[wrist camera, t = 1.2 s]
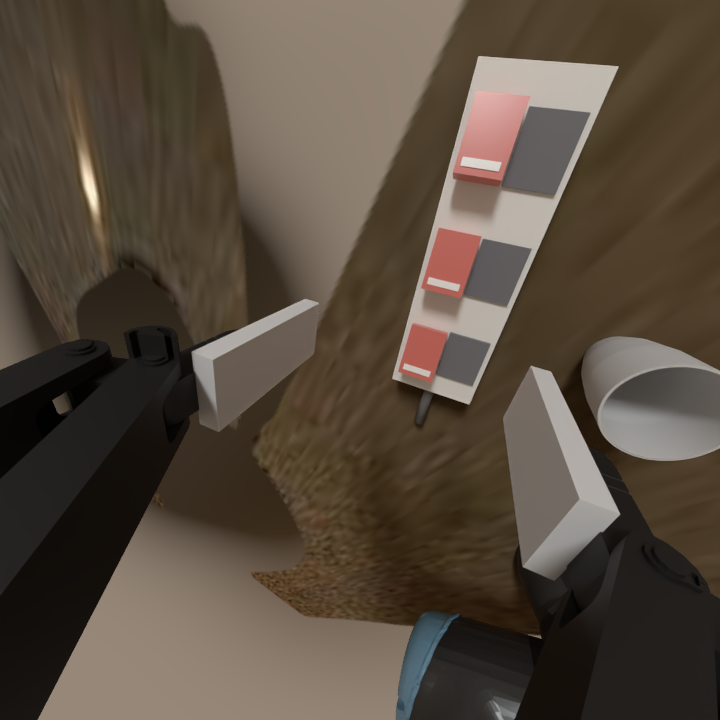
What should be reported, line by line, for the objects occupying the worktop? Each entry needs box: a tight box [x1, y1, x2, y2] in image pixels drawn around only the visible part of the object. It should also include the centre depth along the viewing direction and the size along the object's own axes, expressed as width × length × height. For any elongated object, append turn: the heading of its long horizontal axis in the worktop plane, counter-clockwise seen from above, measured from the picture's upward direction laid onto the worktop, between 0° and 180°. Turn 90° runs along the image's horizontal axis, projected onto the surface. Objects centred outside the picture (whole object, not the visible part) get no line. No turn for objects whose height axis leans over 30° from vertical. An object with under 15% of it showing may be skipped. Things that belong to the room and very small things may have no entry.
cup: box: [581, 337, 720, 461], centre depth 25 cm, size 8×8×10 cm
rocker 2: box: [421, 228, 482, 298], centre depth 26 cm, size 5×4×2 cm
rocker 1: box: [398, 323, 448, 383], centre depth 30 cm, size 5×4×2 cm
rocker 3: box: [453, 91, 530, 187], centre depth 22 cm, size 5×4×2 cm
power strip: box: [392, 56, 619, 424], centre depth 30 cm, size 34×9×4 cm, turn 169°
